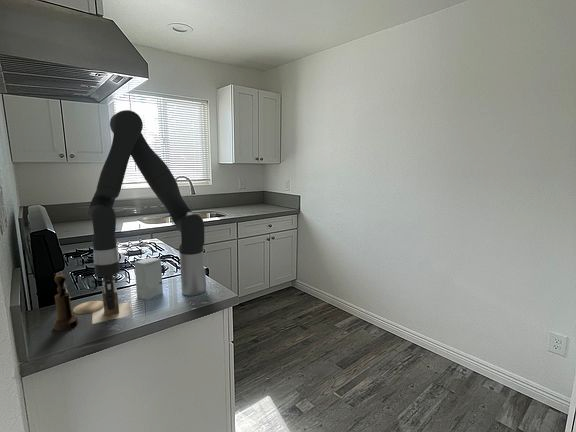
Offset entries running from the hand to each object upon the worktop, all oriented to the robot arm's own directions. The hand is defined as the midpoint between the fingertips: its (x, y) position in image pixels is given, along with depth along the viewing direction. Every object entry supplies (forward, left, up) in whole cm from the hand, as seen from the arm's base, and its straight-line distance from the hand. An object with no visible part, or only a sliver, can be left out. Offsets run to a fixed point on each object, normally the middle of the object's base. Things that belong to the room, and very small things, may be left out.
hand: (111, 305), depth 115 cm
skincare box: (-14, -9, -3) cm, 17 cm away
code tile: (0, 0, -3) cm, 3 cm away
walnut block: (0, 0, -3) cm, 3 cm away
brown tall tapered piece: (+13, +3, -3) cm, 14 cm away
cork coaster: (+7, -8, -3) cm, 11 cm away
